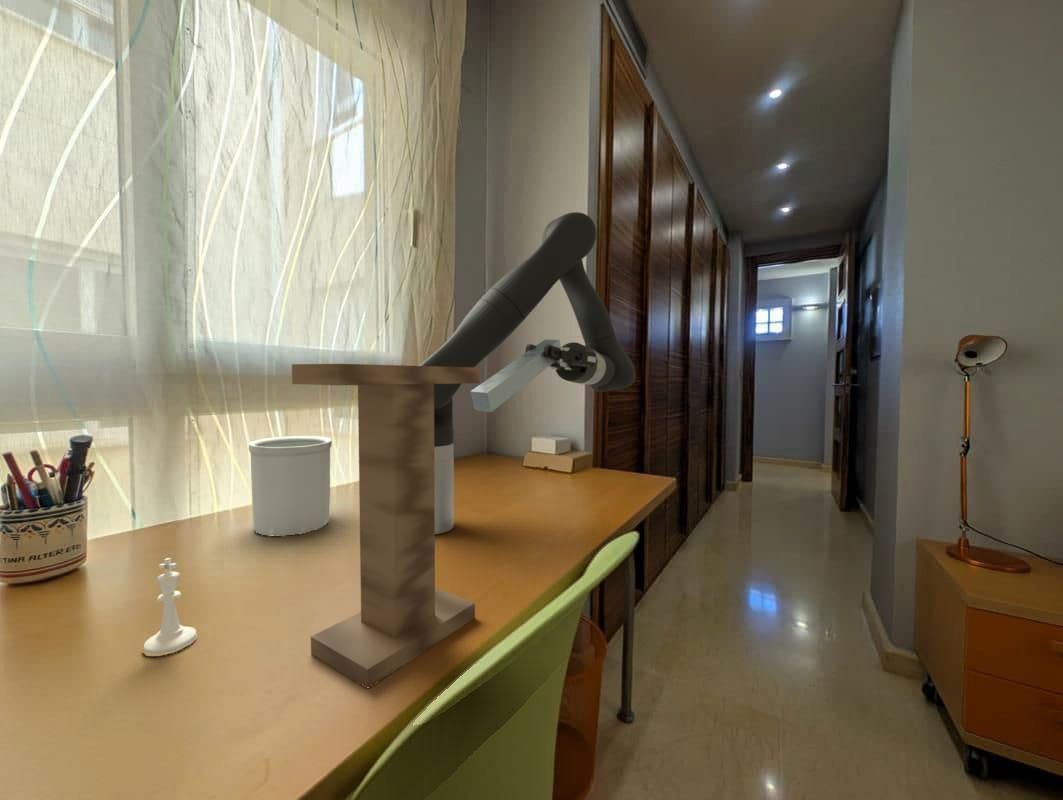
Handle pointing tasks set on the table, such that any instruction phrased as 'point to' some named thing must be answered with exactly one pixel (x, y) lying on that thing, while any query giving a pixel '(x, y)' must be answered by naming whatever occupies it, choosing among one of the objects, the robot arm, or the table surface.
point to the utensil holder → (290, 484)
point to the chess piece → (169, 616)
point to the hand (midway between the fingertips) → (537, 350)
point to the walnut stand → (392, 521)
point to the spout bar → (511, 378)
